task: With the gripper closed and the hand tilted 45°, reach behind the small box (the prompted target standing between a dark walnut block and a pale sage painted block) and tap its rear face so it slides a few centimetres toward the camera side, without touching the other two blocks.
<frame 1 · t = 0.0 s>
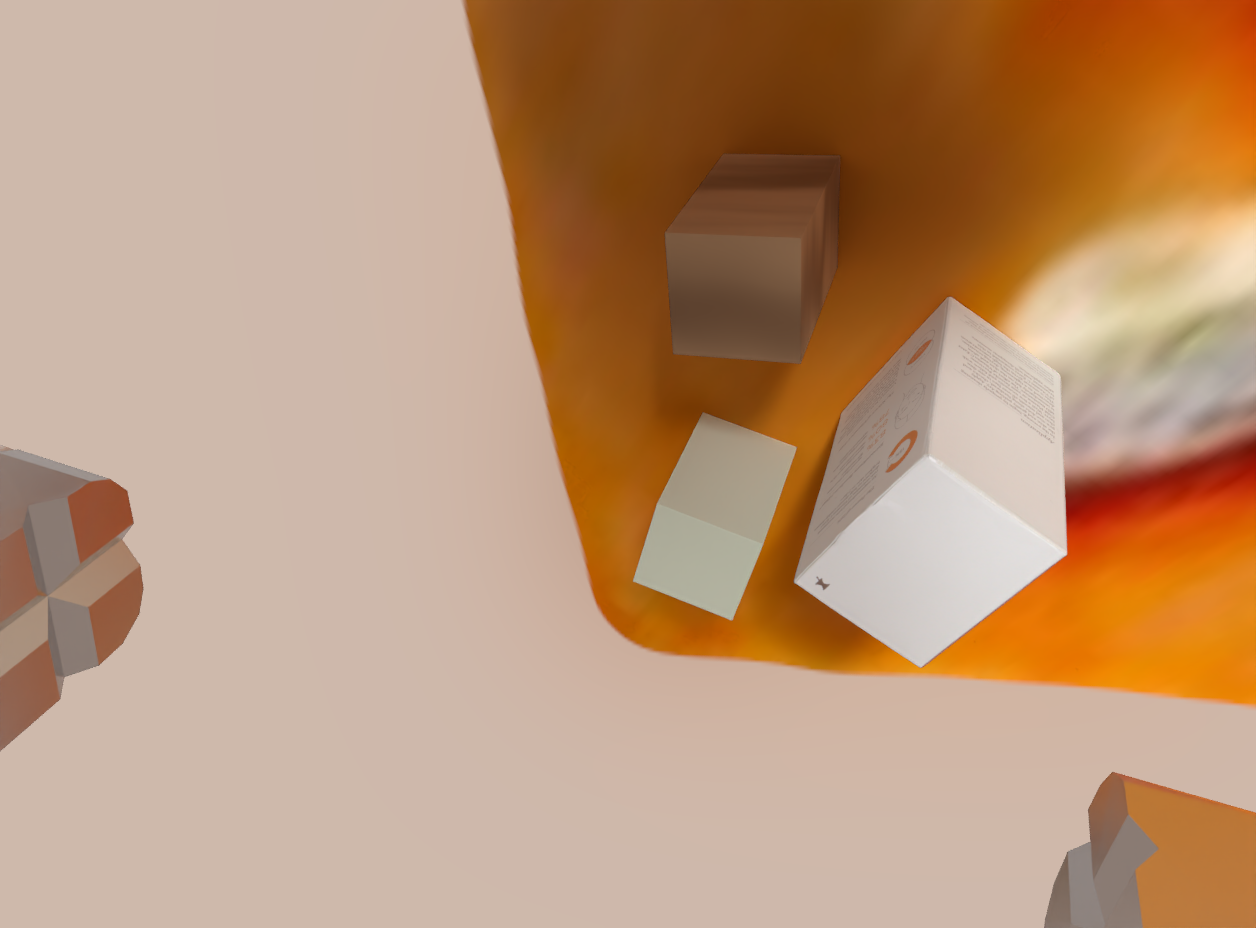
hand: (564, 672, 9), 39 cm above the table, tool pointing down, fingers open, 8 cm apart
walnut block: (781, 211, 47), on the table
small box: (948, 391, 49), on the table
sage block: (736, 467, 55), on the table
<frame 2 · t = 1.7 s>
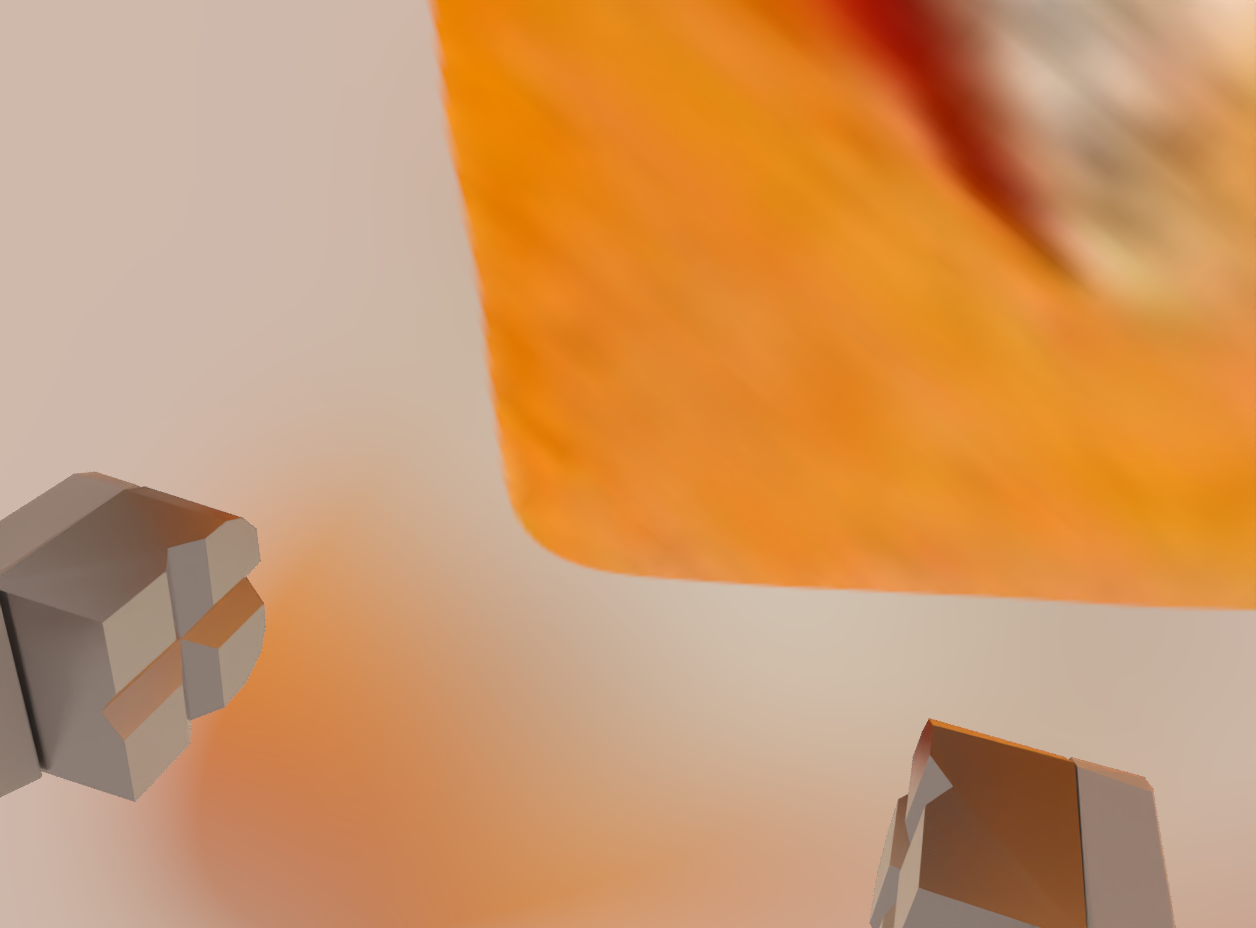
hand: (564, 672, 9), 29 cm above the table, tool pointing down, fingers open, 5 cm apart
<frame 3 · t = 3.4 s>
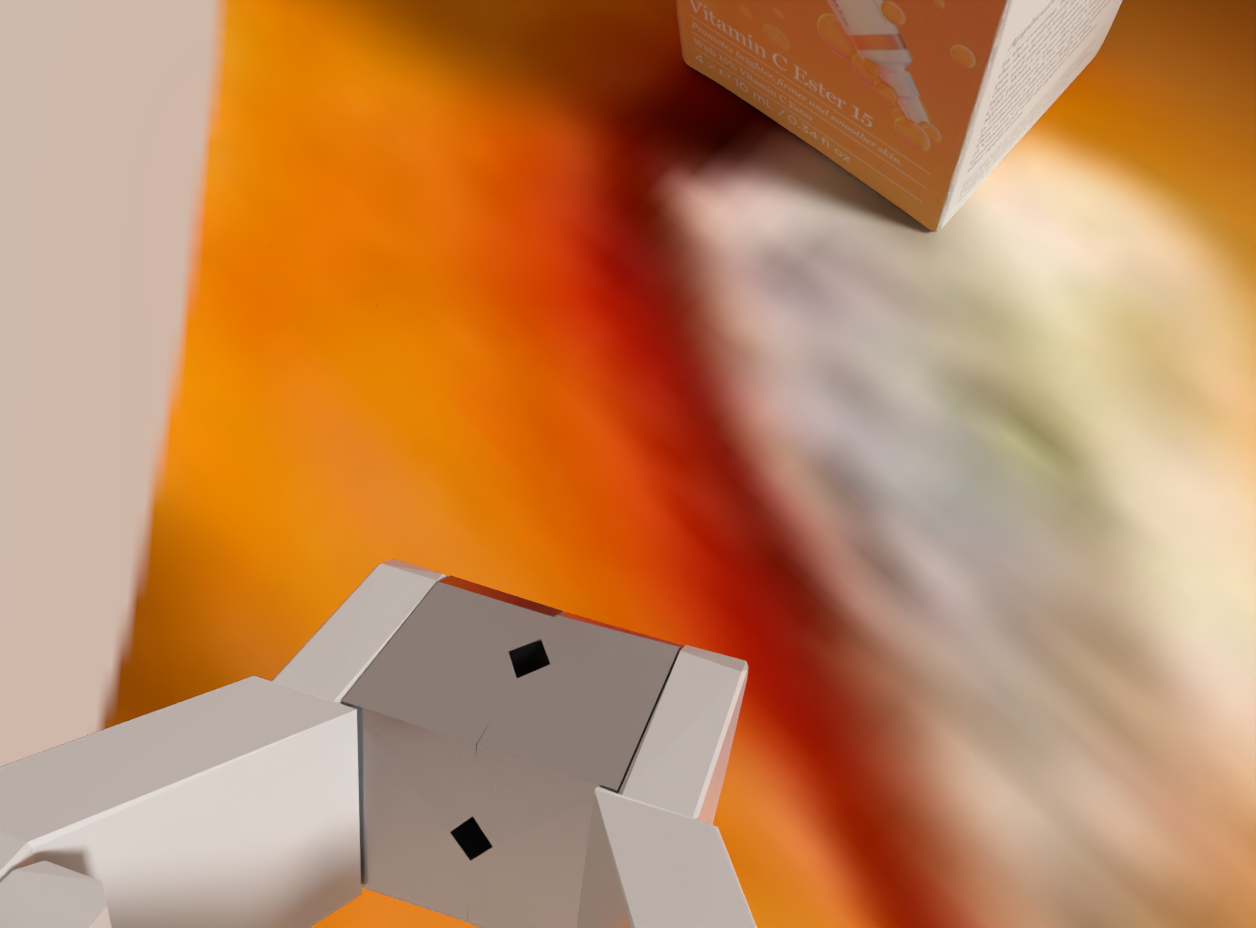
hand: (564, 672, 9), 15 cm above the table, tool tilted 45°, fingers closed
small box: (883, 67, 27), on the table
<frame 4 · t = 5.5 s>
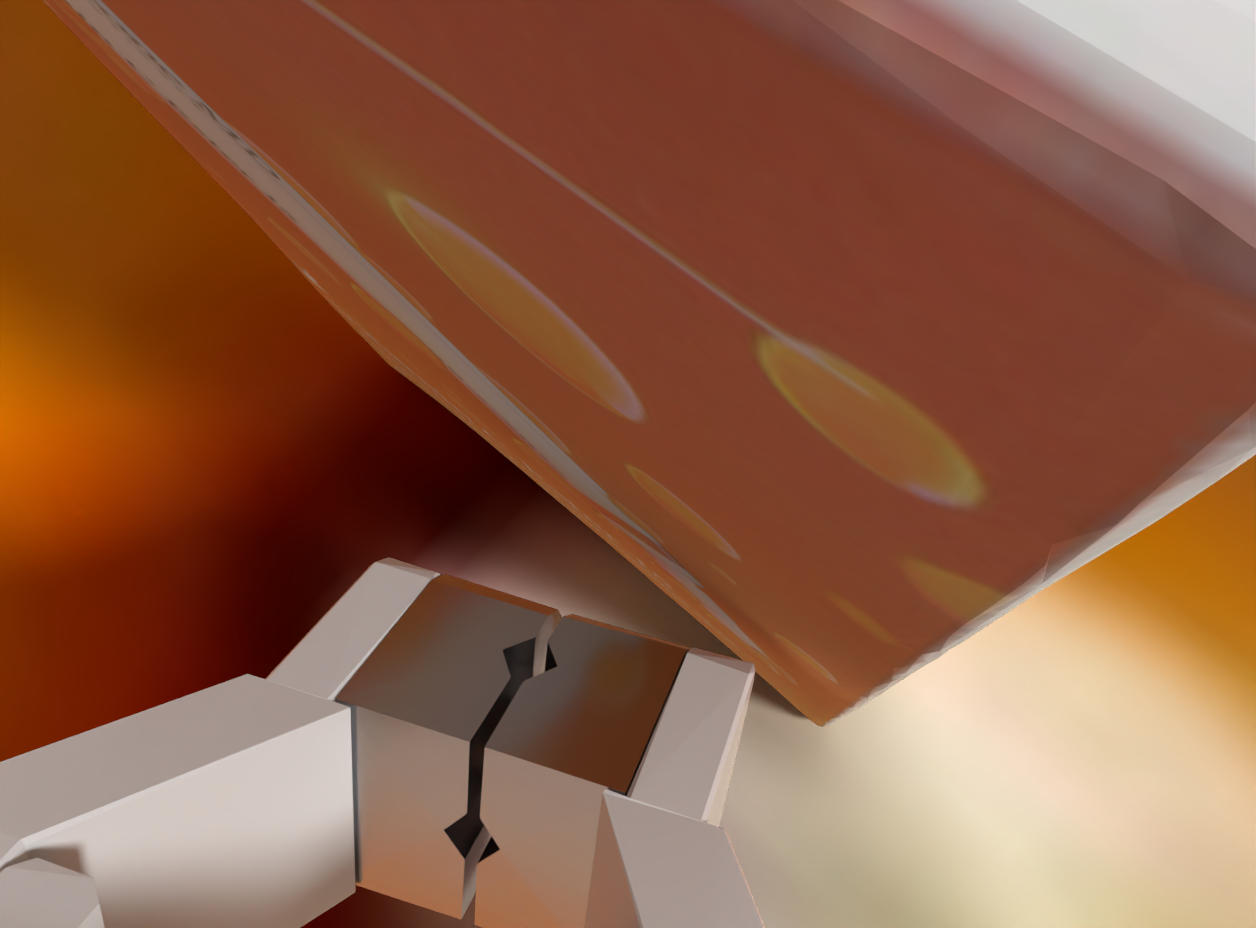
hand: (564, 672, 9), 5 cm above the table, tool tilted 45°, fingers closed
small box: (736, 374, 15), on the table, touching gripper
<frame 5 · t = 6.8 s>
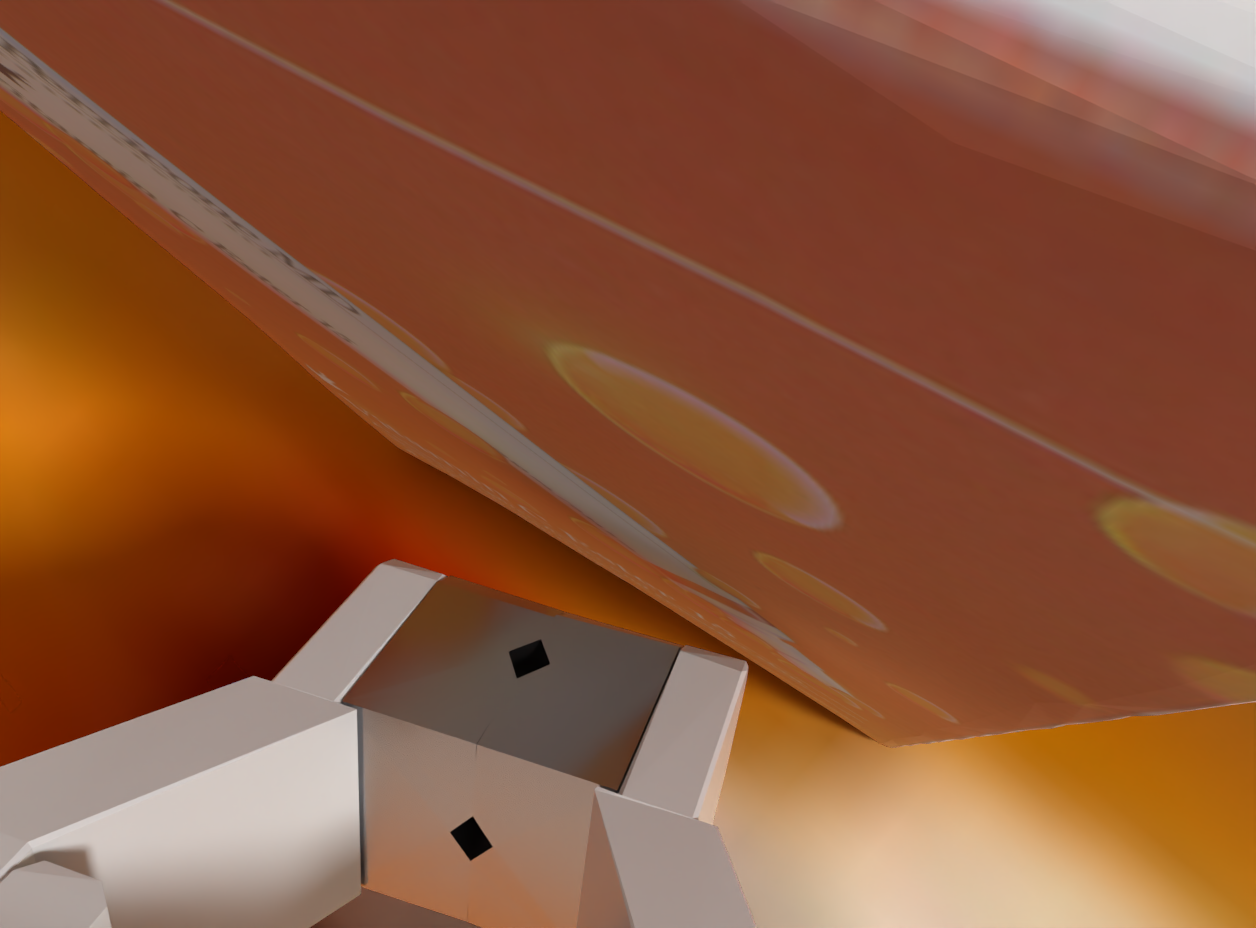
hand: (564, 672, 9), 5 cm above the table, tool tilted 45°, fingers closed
small box: (746, 407, 15), on the table
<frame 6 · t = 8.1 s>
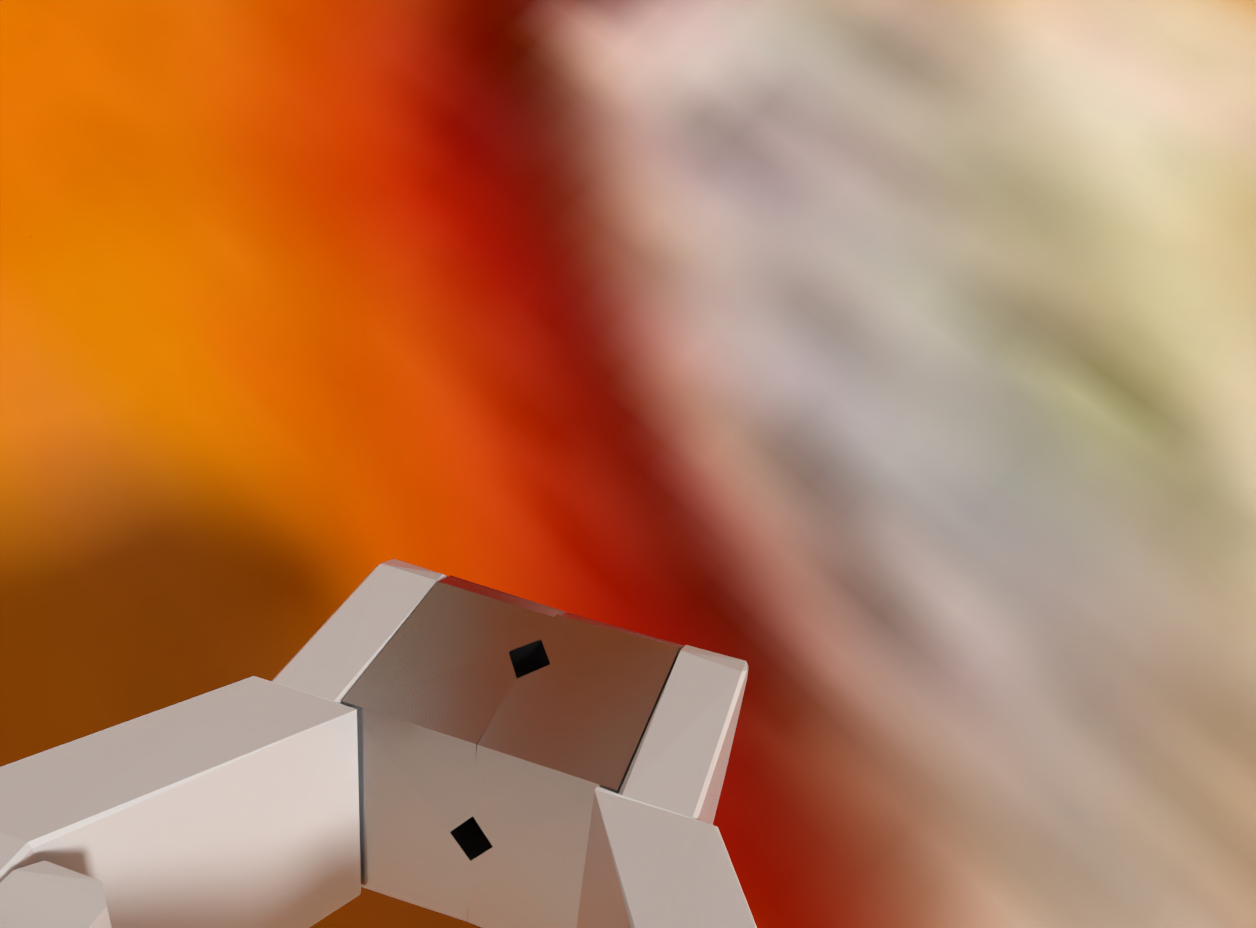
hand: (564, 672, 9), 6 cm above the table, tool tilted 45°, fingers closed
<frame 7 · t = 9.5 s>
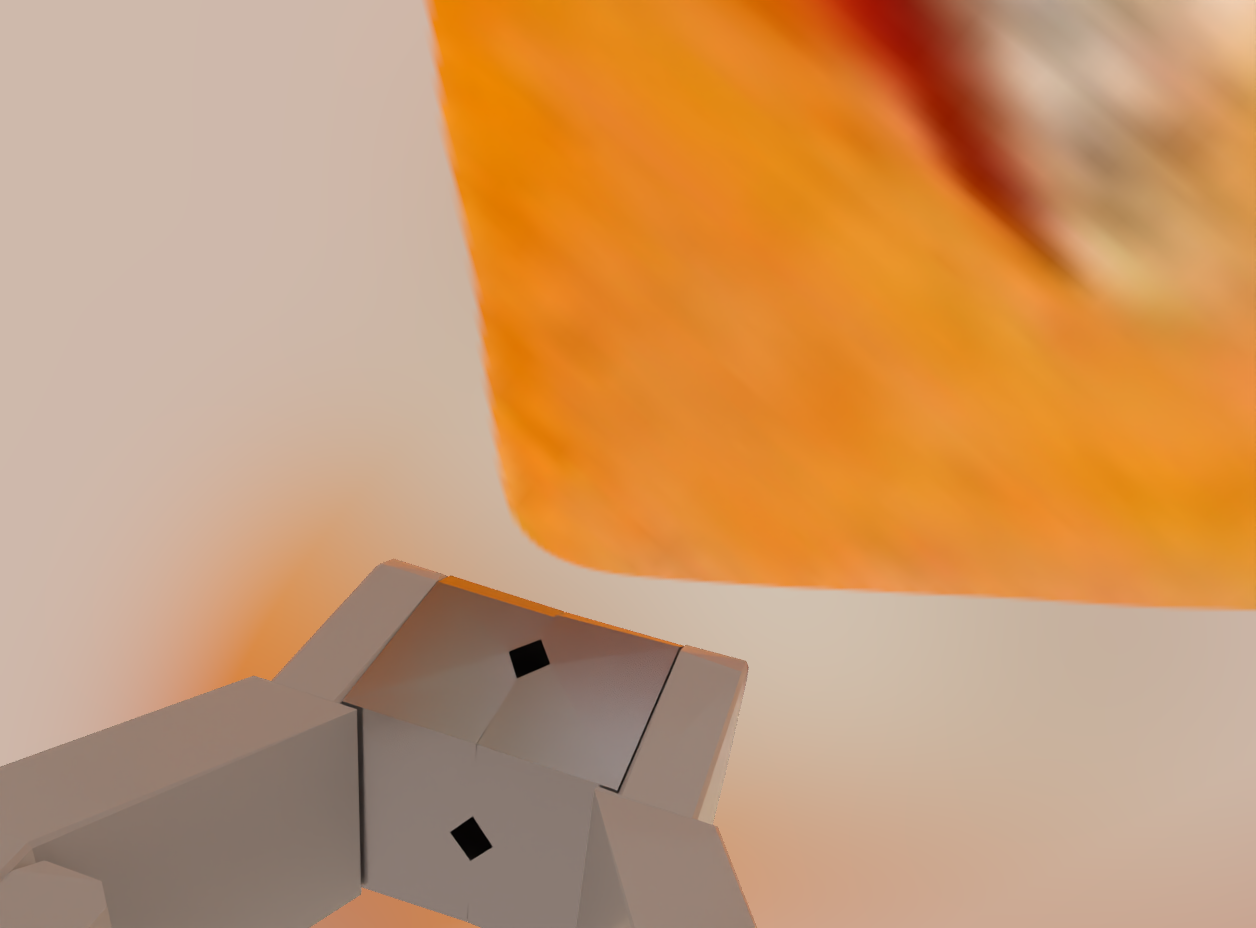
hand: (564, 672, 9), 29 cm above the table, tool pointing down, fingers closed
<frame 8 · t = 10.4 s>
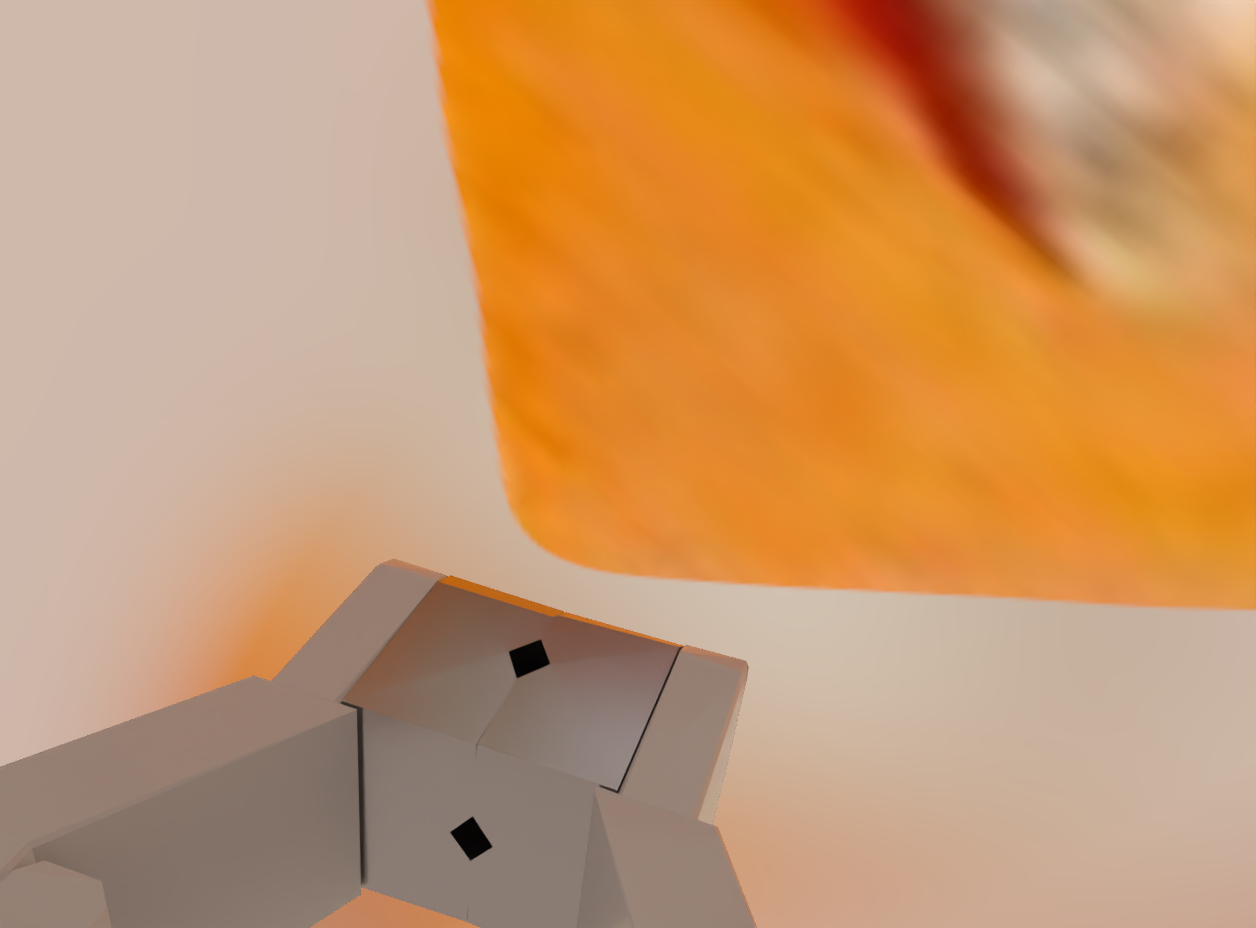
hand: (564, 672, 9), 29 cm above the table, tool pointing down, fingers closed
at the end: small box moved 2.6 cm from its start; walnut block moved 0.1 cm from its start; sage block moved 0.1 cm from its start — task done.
